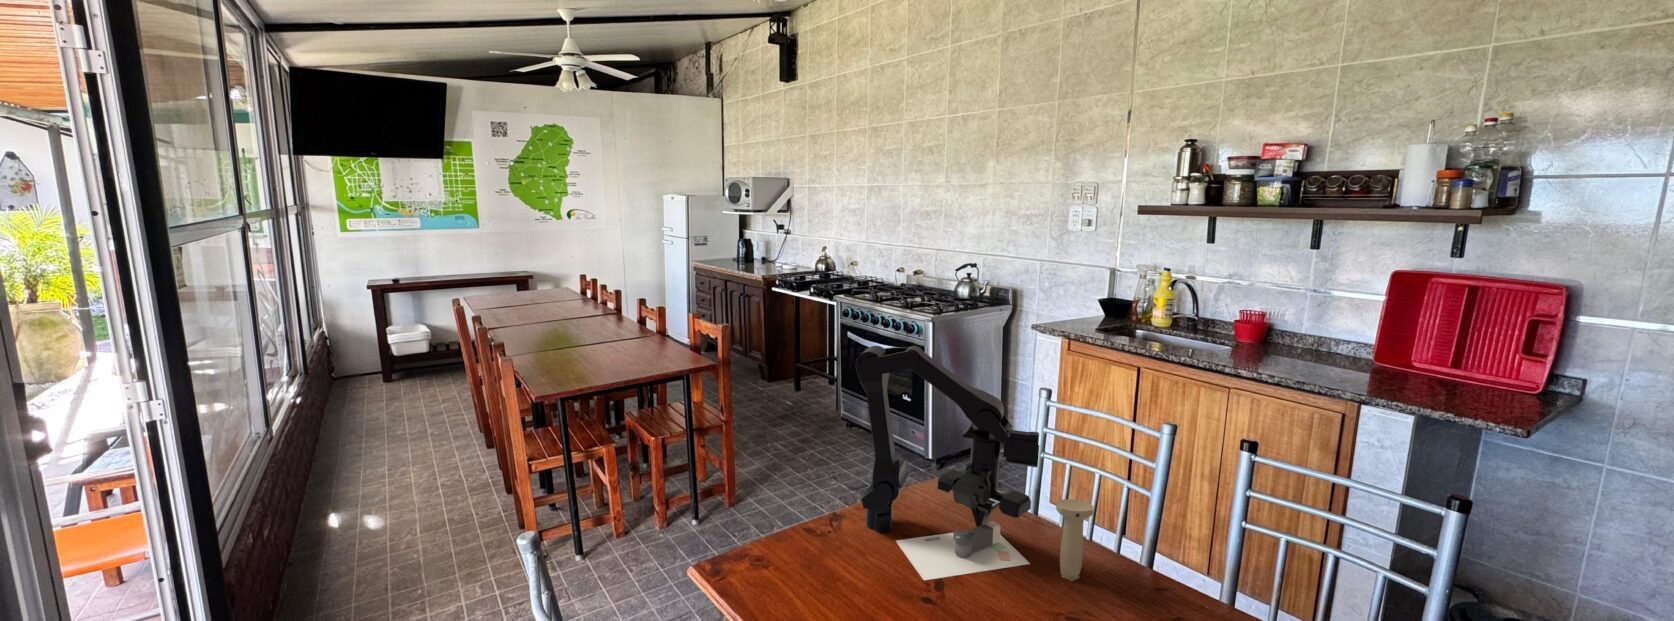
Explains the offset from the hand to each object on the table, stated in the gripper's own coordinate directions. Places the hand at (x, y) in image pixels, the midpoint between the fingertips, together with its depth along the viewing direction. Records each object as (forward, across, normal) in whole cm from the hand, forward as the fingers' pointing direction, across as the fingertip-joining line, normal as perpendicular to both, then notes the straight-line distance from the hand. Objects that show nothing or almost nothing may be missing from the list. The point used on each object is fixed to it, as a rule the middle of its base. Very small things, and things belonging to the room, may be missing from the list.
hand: (979, 530), depth 141 cm
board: (+3, 0, -7) cm, 7 cm away
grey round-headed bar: (+2, +2, -4) cm, 5 cm away
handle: (+3, +20, 0) cm, 20 cm away
